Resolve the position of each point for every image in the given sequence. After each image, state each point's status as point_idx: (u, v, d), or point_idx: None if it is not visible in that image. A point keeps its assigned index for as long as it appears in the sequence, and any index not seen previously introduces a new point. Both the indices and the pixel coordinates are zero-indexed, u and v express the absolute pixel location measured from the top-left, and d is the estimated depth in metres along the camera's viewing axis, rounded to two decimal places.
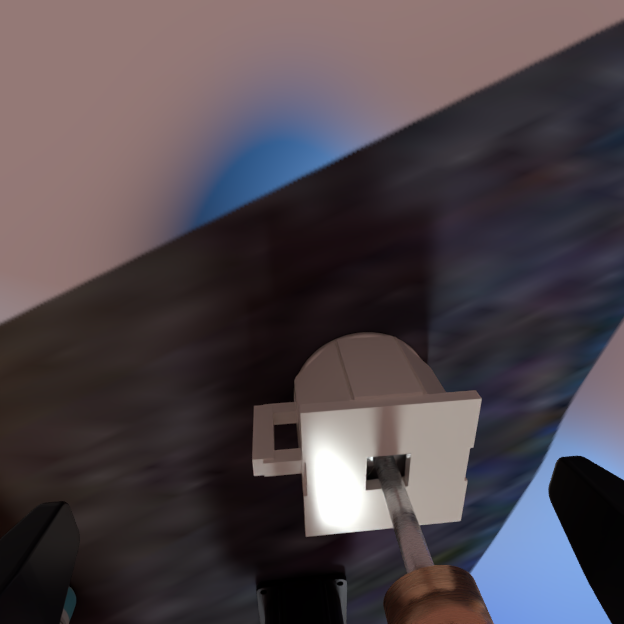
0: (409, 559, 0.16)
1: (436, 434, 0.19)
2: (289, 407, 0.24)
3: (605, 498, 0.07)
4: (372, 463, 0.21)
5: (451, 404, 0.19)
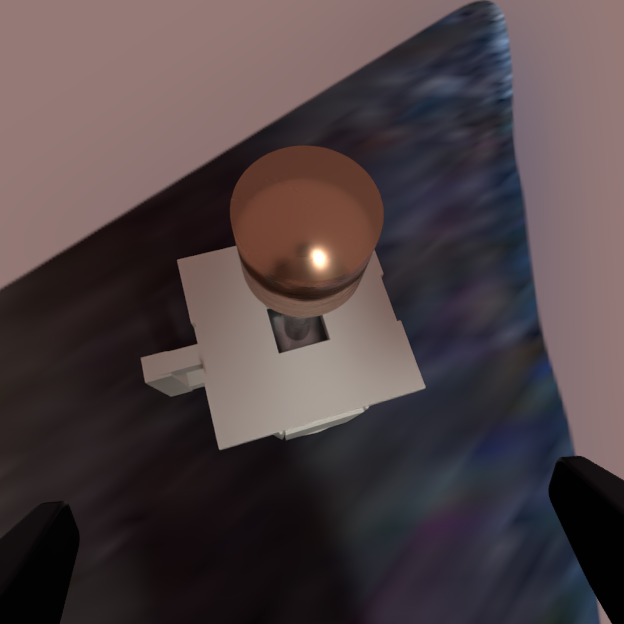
0: None
1: None
2: None
3: (605, 498, 0.07)
4: (286, 338, 0.17)
5: None
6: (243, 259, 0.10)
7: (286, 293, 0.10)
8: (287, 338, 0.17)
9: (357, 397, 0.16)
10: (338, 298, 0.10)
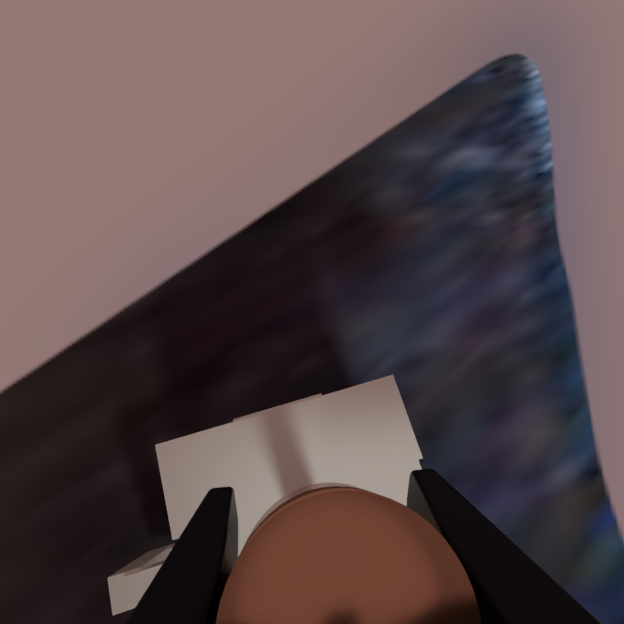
0: None
1: (358, 444, 0.14)
2: None
3: (435, 514, 0.07)
4: None
5: (357, 391, 0.14)
6: None
7: None
8: None
9: None
10: None
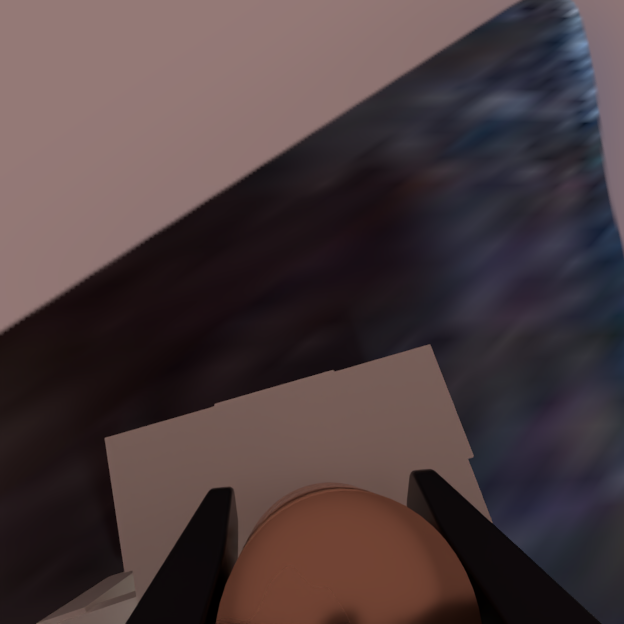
0: None
1: (385, 437, 0.10)
2: None
3: (435, 514, 0.07)
4: None
5: (382, 366, 0.10)
6: None
7: None
8: None
9: None
10: None
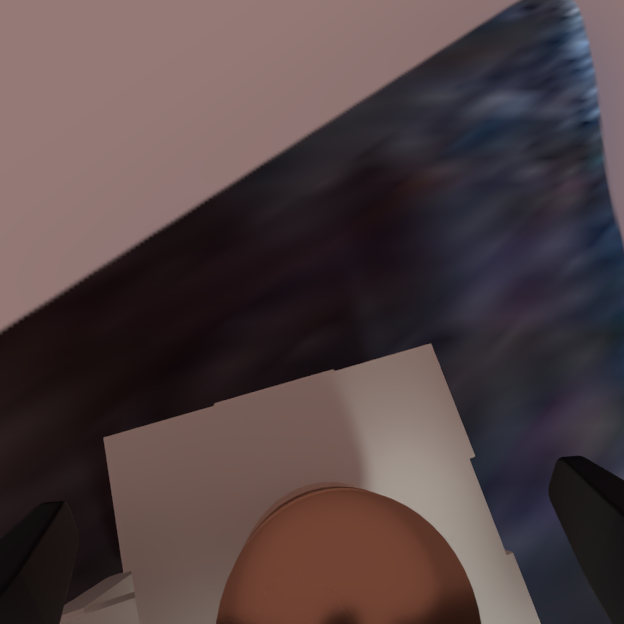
0: None
1: (385, 437, 0.10)
2: None
3: (605, 498, 0.07)
4: None
5: (383, 365, 0.10)
6: None
7: None
8: None
9: None
10: None
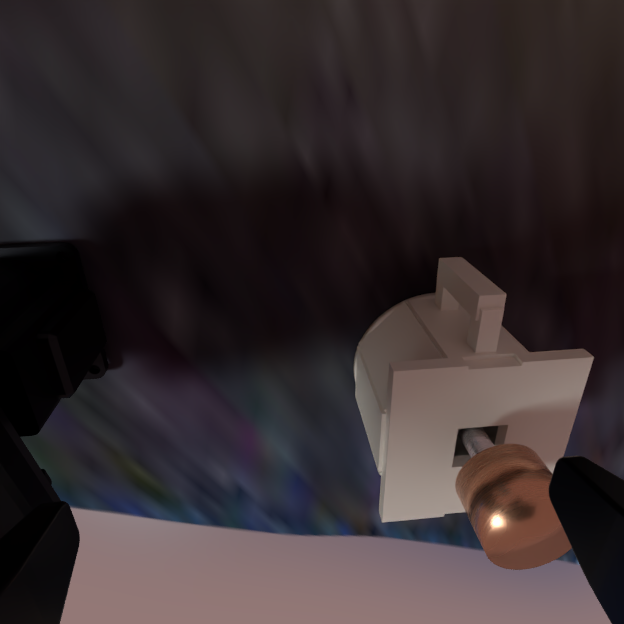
0: (493, 446, 0.17)
1: None
2: None
3: (605, 498, 0.07)
4: None
5: None
6: (519, 485, 0.14)
7: (484, 498, 0.14)
8: None
9: (394, 478, 0.18)
10: (464, 508, 0.15)
